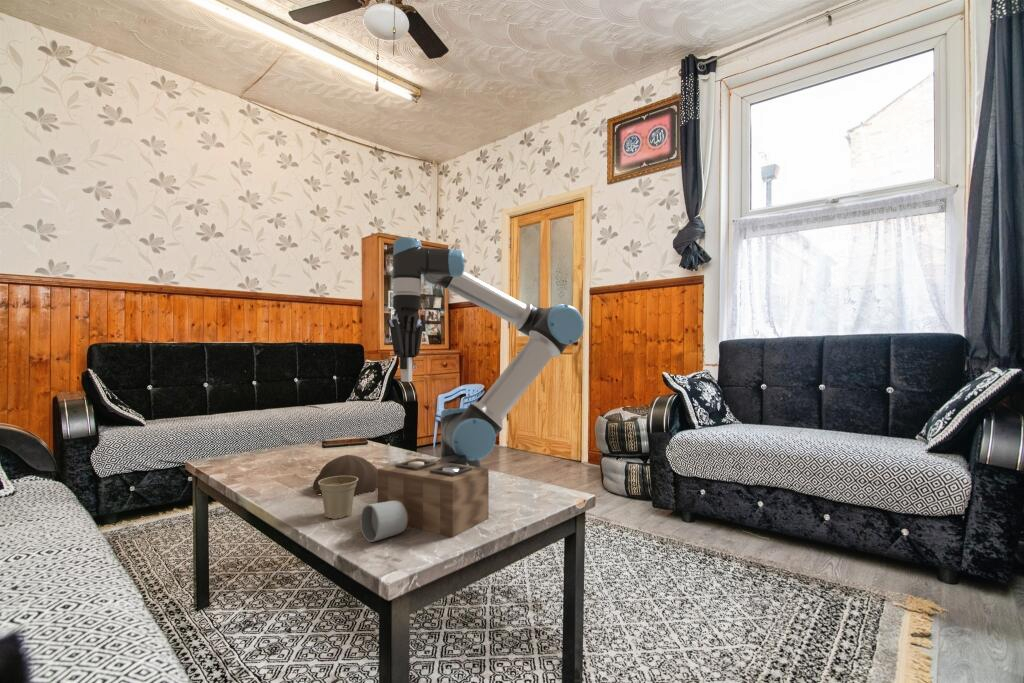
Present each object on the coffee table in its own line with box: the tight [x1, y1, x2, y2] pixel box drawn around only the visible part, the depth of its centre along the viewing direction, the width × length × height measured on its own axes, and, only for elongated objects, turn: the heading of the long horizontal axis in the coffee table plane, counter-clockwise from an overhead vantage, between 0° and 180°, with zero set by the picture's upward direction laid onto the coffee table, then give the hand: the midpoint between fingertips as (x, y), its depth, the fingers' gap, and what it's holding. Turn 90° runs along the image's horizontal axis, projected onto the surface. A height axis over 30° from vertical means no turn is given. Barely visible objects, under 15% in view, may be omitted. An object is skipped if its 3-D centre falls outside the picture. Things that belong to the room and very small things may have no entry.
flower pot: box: [318, 476, 358, 520], centre depth 119 cm, size 9×9×9 cm
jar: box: [436, 454, 469, 466], centre depth 129 cm, size 9×8×12 cm
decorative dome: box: [312, 454, 378, 497], centre depth 144 cm, size 19×20×10 cm
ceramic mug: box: [360, 501, 408, 543], centre depth 107 cm, size 11×8×8 cm
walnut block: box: [377, 457, 490, 538], centre depth 117 cm, size 14×23×13 cm, turn 59°
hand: (406, 381), depth 131 cm, fingers closed
